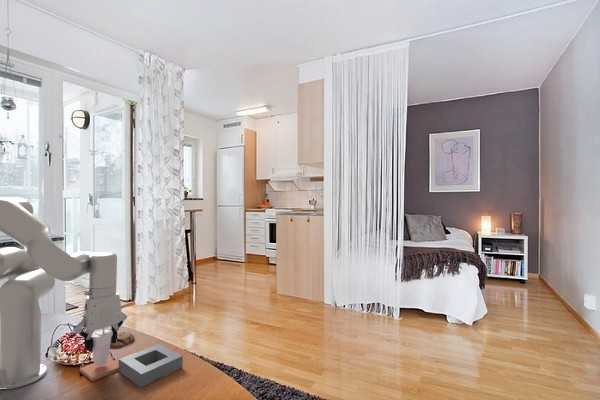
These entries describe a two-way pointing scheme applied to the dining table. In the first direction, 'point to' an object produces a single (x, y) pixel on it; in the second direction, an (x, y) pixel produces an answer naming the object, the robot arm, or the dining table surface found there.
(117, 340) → the cookie
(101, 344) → the smoothie
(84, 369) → the pad
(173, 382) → the dining table surface
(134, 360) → the box
